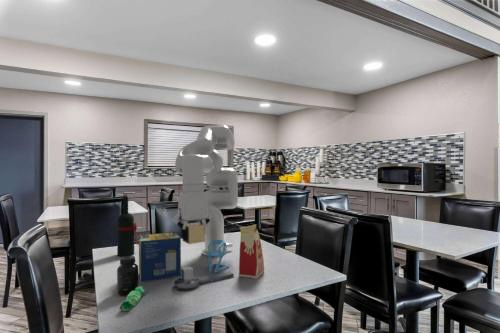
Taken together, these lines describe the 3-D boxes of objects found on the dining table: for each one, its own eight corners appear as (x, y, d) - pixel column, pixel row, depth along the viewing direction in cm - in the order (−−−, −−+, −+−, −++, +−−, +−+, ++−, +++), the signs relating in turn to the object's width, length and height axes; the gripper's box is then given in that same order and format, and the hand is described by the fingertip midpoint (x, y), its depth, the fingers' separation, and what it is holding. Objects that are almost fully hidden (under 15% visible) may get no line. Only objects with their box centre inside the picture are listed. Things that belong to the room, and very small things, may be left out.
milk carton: (264, 270, 123) (264, 222, 124) (257, 278, 115) (257, 226, 115) (243, 268, 126) (243, 221, 126) (235, 276, 118) (235, 225, 118)
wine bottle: (136, 256, 145) (135, 194, 145) (114, 257, 144) (114, 195, 144) (141, 252, 152) (141, 193, 153) (121, 252, 152) (120, 193, 152)
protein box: (138, 273, 122) (138, 235, 122) (176, 268, 128) (176, 231, 128) (140, 282, 112) (139, 241, 112) (181, 276, 118) (181, 237, 118)
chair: (204, 271, 123) (203, 242, 123) (213, 265, 131) (213, 237, 131) (220, 273, 121) (220, 243, 121) (229, 267, 128) (229, 239, 128)
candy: (134, 309, 89) (126, 298, 89) (124, 316, 89) (117, 304, 89) (147, 292, 101) (140, 282, 101) (139, 298, 101) (132, 288, 101)
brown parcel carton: (197, 238, 112) (197, 222, 112) (204, 241, 107) (204, 224, 107) (182, 240, 109) (182, 224, 109) (189, 244, 104) (188, 226, 104)
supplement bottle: (121, 288, 106) (121, 254, 106) (140, 287, 107) (140, 254, 107) (114, 297, 99) (113, 260, 99) (135, 296, 100) (135, 260, 100)
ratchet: (226, 272, 122) (226, 256, 122) (237, 279, 114) (237, 262, 114) (170, 284, 110) (170, 267, 110) (179, 293, 102) (179, 274, 102)
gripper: (210, 187, 116) (210, 233, 116) (166, 189, 106) (166, 239, 106) (219, 188, 110) (219, 237, 110) (173, 190, 100) (174, 244, 100)
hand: (193, 238), depth 108 cm, fingers closed on brown parcel carton, 6 cm apart
